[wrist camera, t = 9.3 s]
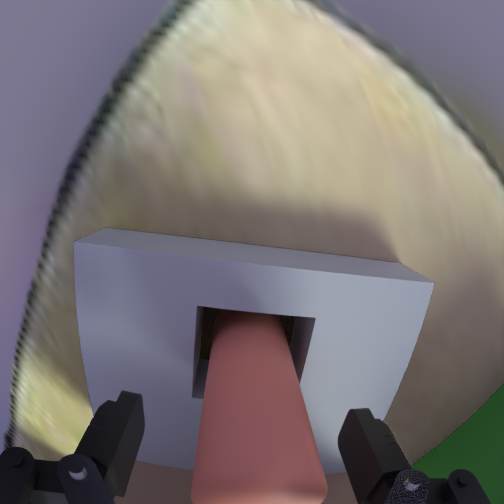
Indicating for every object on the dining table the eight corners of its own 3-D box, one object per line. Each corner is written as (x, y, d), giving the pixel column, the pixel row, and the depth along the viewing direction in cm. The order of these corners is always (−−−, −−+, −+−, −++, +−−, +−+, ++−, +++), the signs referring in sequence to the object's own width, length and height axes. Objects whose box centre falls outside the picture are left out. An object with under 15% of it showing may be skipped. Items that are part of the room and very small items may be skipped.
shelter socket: (338, 445, 21) (391, 604, 6) (120, 426, 20) (60, 591, 5) (400, 263, 18) (612, 410, 2) (106, 227, 17) (-144, 363, 1)
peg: (286, 299, 18) (346, 462, 6) (275, 356, 19) (308, 523, 7) (218, 291, 18) (190, 459, 6) (212, 350, 19) (191, 520, 7)
